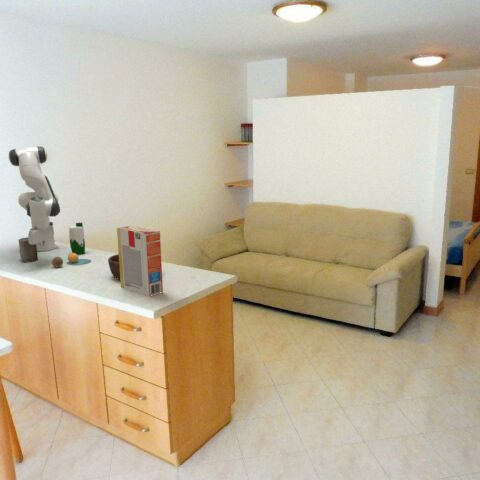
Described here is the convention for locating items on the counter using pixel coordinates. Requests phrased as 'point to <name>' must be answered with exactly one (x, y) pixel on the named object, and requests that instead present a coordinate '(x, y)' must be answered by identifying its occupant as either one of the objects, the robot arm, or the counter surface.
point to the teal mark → (80, 262)
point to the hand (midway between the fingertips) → (42, 248)
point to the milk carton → (77, 239)
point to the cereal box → (140, 260)
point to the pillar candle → (27, 250)
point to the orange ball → (73, 258)
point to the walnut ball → (57, 262)
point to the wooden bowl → (114, 265)
